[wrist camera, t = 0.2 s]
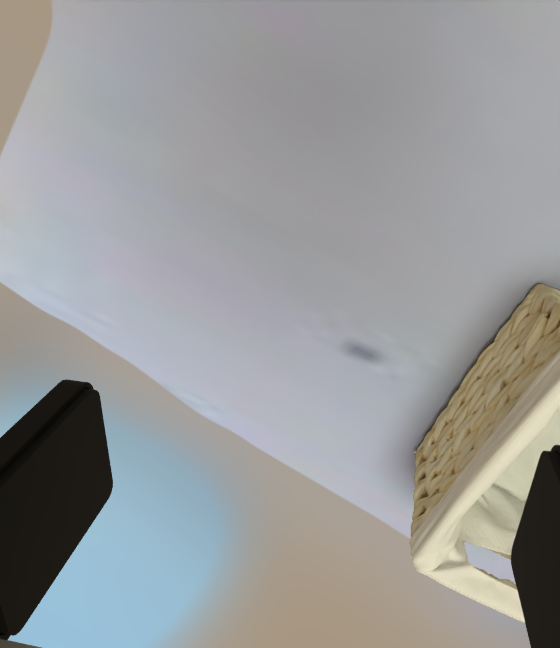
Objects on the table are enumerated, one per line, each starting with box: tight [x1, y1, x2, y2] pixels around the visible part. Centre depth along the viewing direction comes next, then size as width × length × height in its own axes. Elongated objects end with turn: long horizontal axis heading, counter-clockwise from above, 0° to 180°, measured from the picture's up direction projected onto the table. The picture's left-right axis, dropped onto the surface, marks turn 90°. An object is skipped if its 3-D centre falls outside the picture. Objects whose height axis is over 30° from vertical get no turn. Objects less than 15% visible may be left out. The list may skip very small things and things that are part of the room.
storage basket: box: [410, 284, 560, 623], centre depth 43 cm, size 24×16×15 cm
